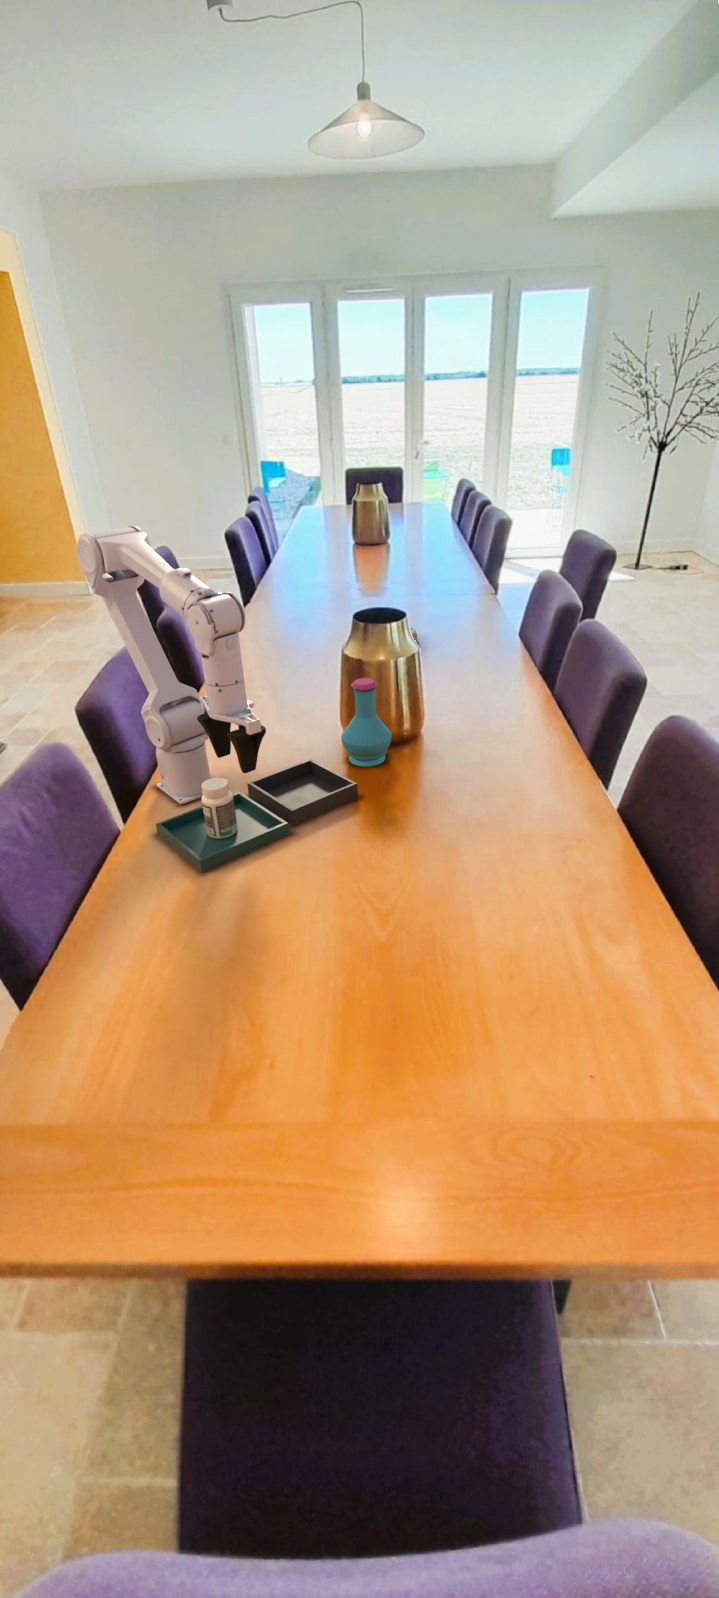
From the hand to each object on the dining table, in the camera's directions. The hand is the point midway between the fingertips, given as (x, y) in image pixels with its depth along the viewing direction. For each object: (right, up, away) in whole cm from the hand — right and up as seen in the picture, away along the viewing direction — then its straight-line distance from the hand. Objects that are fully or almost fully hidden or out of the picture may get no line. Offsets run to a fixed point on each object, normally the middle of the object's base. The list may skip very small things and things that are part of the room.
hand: (236, 763), depth 112 cm
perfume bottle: (+21, +2, +21) cm, 30 cm away
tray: (-2, -11, -1) cm, 11 cm away
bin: (+10, -5, +9) cm, 14 cm away
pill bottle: (-2, -11, -1) cm, 11 cm away
